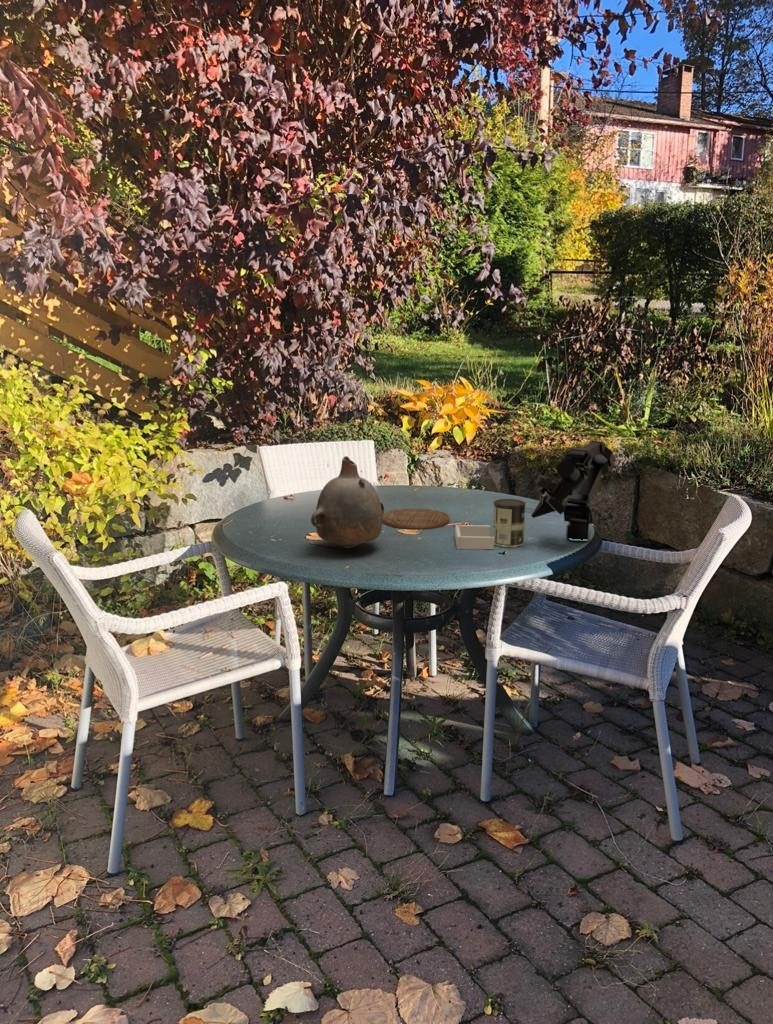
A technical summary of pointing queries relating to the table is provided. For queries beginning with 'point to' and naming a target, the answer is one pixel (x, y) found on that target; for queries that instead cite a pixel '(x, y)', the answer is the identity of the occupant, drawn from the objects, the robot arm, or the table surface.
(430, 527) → the trivet
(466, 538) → the frame
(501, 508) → the coffee can
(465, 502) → the table surface
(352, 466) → the jug
